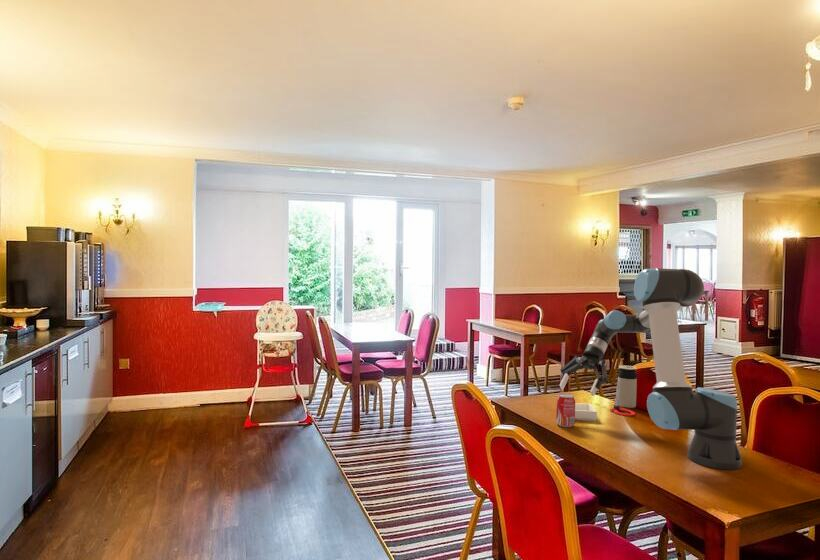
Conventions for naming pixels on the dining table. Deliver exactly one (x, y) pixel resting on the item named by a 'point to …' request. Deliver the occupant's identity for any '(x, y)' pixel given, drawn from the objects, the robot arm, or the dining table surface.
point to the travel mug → (627, 386)
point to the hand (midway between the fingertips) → (576, 390)
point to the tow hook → (617, 407)
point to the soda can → (565, 410)
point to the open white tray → (585, 412)
